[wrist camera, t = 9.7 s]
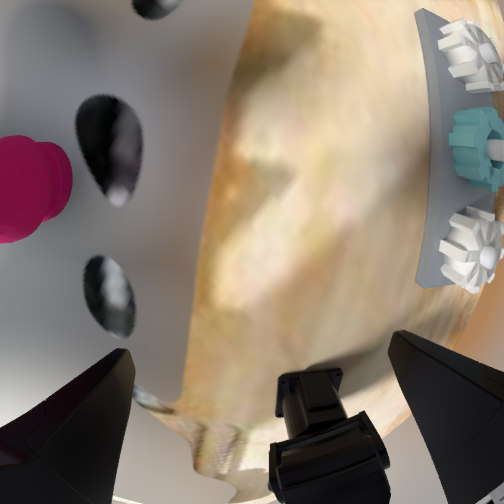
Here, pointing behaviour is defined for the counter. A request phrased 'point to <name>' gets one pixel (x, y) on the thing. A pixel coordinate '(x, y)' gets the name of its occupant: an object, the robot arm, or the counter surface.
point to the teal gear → (477, 147)
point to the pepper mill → (31, 185)
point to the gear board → (442, 160)
